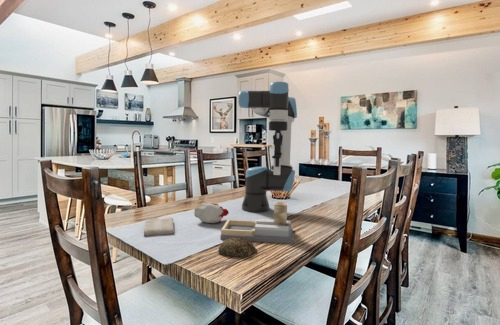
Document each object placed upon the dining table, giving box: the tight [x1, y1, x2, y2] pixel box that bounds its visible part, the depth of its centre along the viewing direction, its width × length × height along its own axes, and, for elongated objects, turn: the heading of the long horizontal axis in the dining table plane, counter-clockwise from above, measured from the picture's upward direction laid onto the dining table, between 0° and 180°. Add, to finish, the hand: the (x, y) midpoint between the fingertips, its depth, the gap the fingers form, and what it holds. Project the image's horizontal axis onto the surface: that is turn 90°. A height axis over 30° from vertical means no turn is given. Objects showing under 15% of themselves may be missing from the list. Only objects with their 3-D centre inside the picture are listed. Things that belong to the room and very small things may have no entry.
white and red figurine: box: [193, 202, 229, 224], centre depth 133 cm, size 9×11×15 cm
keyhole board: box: [219, 218, 295, 245], centre depth 117 cm, size 28×16×5 cm, turn 84°
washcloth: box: [143, 217, 175, 237], centre depth 122 cm, size 12×18×3 cm, turn 17°
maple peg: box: [273, 201, 288, 226], centre depth 115 cm, size 6×6×12 cm
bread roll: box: [217, 238, 258, 258], centre depth 100 cm, size 13×12×5 cm
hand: (276, 172), depth 120 cm, fingers open, 13 cm apart
